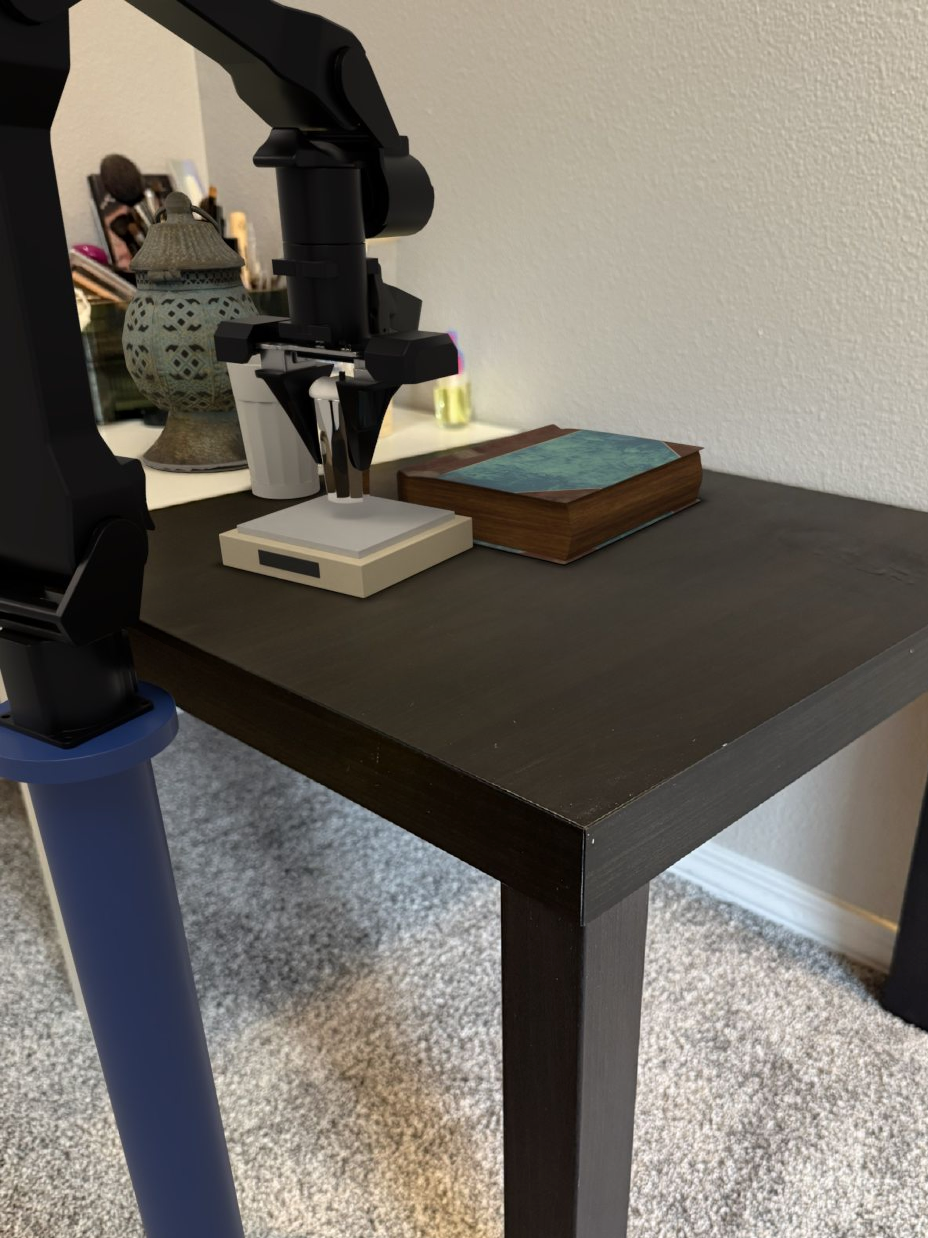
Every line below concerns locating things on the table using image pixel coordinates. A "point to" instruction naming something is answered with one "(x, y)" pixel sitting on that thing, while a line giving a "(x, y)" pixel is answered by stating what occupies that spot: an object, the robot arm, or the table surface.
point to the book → (558, 489)
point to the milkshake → (336, 444)
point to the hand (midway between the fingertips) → (342, 466)
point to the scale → (347, 543)
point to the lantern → (186, 338)
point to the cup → (270, 438)
